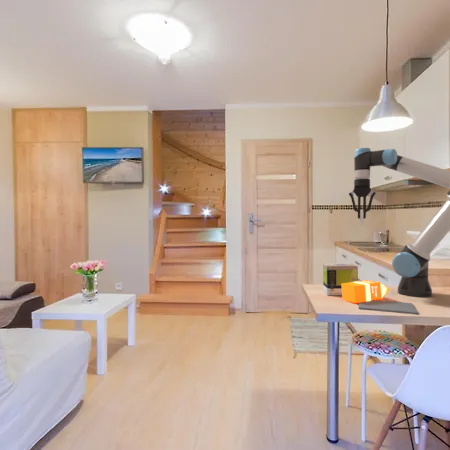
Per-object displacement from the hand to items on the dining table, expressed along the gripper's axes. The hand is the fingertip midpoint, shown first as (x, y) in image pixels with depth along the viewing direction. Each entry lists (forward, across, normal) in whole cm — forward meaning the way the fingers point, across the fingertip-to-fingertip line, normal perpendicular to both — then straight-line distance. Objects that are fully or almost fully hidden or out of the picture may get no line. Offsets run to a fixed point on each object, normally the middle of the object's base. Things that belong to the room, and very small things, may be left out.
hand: (361, 225), depth 173 cm
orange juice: (+30, +6, +24) cm, 39 cm away
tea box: (+35, +10, +8) cm, 37 cm away
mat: (+34, -10, +27) cm, 45 cm away
